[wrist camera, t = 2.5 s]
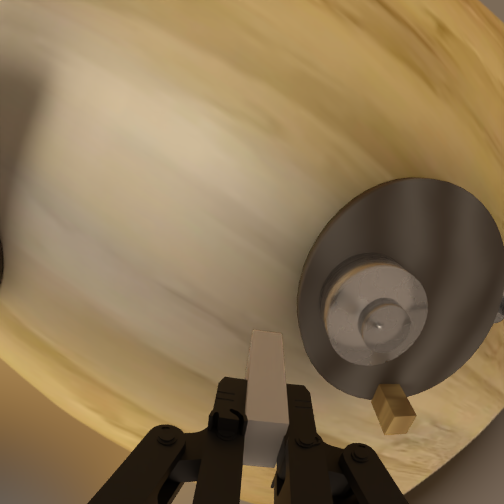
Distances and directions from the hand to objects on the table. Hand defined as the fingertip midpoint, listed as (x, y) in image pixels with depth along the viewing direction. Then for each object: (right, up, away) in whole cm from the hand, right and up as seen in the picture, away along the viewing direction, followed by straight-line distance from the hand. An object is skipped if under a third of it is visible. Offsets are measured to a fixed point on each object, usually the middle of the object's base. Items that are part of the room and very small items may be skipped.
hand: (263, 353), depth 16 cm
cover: (+9, +1, +9) cm, 13 cm away
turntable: (+14, +1, +11) cm, 18 cm away
